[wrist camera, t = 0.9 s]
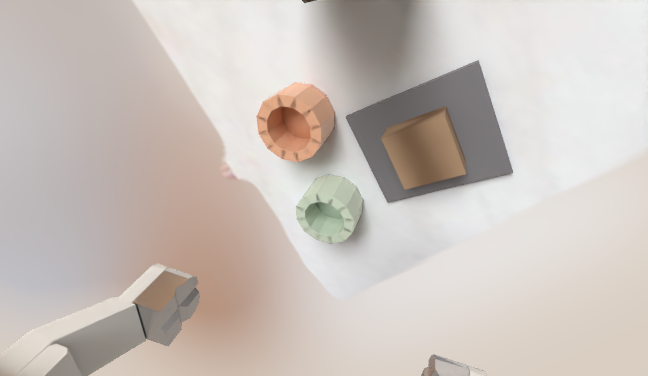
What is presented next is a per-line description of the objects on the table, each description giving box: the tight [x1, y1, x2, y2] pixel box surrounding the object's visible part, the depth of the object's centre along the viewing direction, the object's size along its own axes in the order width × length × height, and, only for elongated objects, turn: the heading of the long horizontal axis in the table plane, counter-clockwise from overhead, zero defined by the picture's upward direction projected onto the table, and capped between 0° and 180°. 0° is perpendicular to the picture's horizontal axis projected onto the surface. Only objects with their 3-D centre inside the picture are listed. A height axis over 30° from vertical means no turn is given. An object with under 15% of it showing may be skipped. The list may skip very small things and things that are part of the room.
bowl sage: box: [296, 175, 363, 244], centre depth 42 cm, size 8×8×4 cm
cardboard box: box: [381, 106, 466, 190], centre depth 33 cm, size 6×6×3 cm
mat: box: [346, 60, 513, 202], centre depth 35 cm, size 14×12×1 cm
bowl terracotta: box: [257, 83, 335, 162], centre depth 37 cm, size 8×8×4 cm
